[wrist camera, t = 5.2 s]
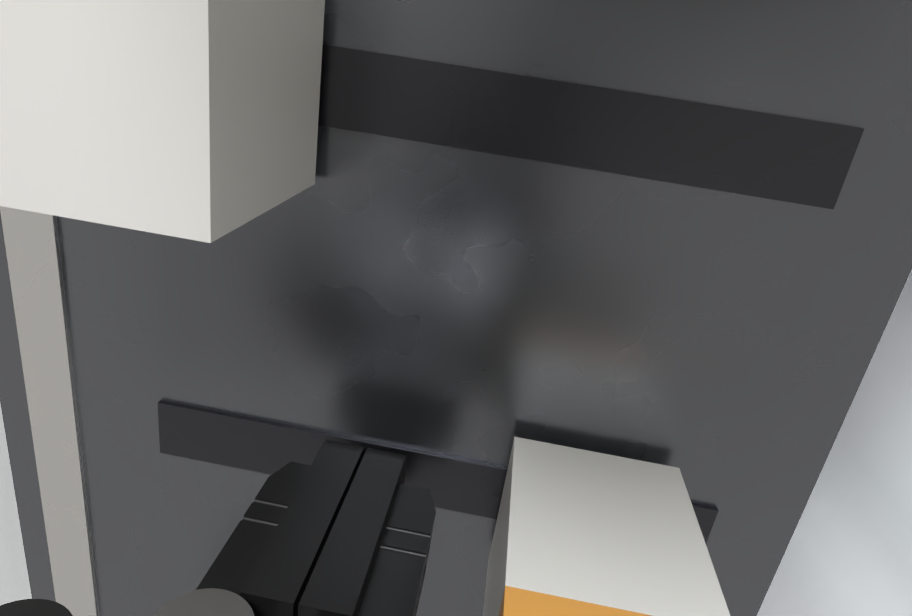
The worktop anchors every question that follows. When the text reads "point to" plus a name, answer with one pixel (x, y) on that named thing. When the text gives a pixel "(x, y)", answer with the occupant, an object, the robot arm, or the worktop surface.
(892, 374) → the worktop surface
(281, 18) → the block
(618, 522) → the block
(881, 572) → the worktop surface
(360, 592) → the robot arm
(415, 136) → the breaker panel
